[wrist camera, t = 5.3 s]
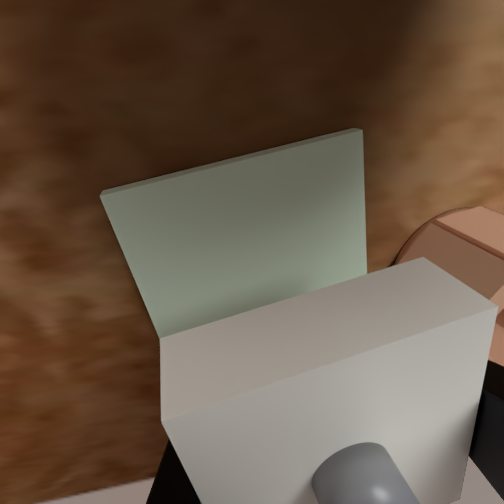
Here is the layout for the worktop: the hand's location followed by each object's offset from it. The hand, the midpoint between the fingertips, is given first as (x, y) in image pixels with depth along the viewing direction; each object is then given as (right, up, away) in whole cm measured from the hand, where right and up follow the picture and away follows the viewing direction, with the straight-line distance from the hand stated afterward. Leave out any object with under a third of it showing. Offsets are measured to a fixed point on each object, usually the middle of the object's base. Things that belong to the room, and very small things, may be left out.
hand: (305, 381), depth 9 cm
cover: (0, 0, 0) cm, 0 cm away
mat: (-1, +3, +2) cm, 4 cm away
